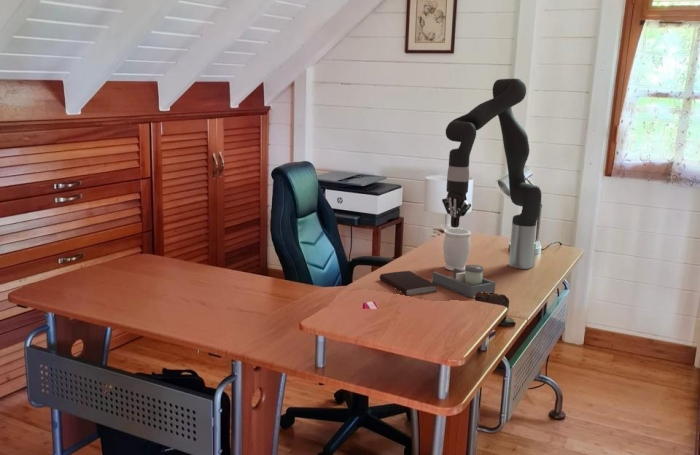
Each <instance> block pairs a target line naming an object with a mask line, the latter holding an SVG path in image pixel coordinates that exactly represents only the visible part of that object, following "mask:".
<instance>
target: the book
mask: <svg viewBox="0 0 700 455" xmlns="http://www.w3.org/2000/svg"><path fill="white" fill-rule="evenodd" d="M379 279H380V281H381V282H382V283H384V282H385V284H386V283H387V284H386V285H388V284H389V285H390V287H391V286H392V287H391V288H393V287H394V288H396V289H397V290H396V289H395V290H396V291H398V290H399V291H401V292H402V293H401V292H400V293H401V294H403V293H404V294H405V295H404V294H403V295H404V296H406V295H407V296H412V294H414V295H422V294H423V293H425V294H431V292H432V293H436V292H437V288H436V287H437V286H438V285H436V284H434V283H432V281H430V280H428V279H426V278H424V277H422V276H420V275H419V274H416V273H414V272H412V271H410V270H403V271H402V270H401V271H394V272H387V273H386V272H385V273H381V274H380V276H379ZM389 285H388V286H389ZM394 288H393V289H394ZM399 291H398V292H399ZM409 294H410V295H409ZM423 295H424V294H423Z"/></svg>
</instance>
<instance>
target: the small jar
mask: <svg viewBox="0 0 700 455" xmlns="http://www.w3.org/2000/svg"><path fill="white" fill-rule="evenodd" d="M464 271H465V283H466V284H468V285H471V286H476V285H481V284H482V278H484V277H483V276H484V266H482V265H479V264H465V270H464Z"/></svg>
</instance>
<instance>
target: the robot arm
mask: <svg viewBox="0 0 700 455" xmlns="http://www.w3.org/2000/svg"><path fill="white" fill-rule="evenodd" d="M526 94H527V86H526V83H525V81H524V80H522V79H520V78H513V77H512V78H500V79H496V80H495V81H494V83H493V85H492V98H490V99H488V100H486V101H484V102H483V101H482V102H481V103H480V104H478V105H476V106H475V107H474V108H473V109H470V111H469V112H467V113H466V114H464V115H460V116H459V117H457V118H454V119H453V120H451V121H450V122H449V123H448V125H447V126H446V129H445V137H446V138H447V139H448V140H449V141H451V142H456V143H459V146H458V148H452V149H451V150H450V151H449V155H448V166H447V167H448V168H447V174H446V175H447V176H446V192H447V195H446V197H445V198H442V199H441V202H442V204H443V206H444V209H445V211H446V213H447V215H450V217H451V218H450V227H451V228H453V229H457V228H458V227H459V226H460V218H461V217H464V216H466V214H467V213H468V211H469V210H470V208H471V206H472V204H471V203H468V201H467V193H469V182H470V179H469V178H470V155H471V152H472V150H473V146H474V143H475V140H476V138H477V131H479V130H481V129H482V128H483V127H484V126H485V125H487V124H488V123H489V122H490V121H492V120H493V119H495V118H496V117H497V116H498V121H499V124H500V125H499V126H500V131H501V135H502V143H503V149H504V154H505V159H506V166H507V175H508V188H509V197H510V200H511V202H512V203H513V204H514V205H515V206H517V207H518V206H519V207H521V213H520V214H516V215H514V216H512V222H511V235H510V246H509V247H510V248H509V255H508V256H509V259H508V266H509V267H511V268H514V269H521V270H525V269H526V270H527V269H531V268H533V267H534V266H535V258H536V248H537V243H536V241H535V240H536V232H537V230H536V228H537V222H538V218H539V216H540V211H541V204H542V190H541V188H540V187H539V186H538V185H534V184H532V183H526V178H525V166H526V164H527V160H528V158H529V156H530V144H529V138H528V134H527V132H526V130H525V128H524V127H523V125H522V124H521V123H520V122H519V120H517V117H516V116H515V115H514V112H513V110H512V107H514V106H516V105H519V103H520V104H521V102H523V100H525V97H526Z"/></svg>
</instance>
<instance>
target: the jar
mask: <svg viewBox="0 0 700 455" xmlns="http://www.w3.org/2000/svg"><path fill="white" fill-rule="evenodd" d="M443 232H444V238H443V246H442V247H443V248H442V250H443V251H442V252H443V259H444V262H445V265H444V268H445V269H446V270H448V271H451V272H454V268H457V269H460V270H462V271H465V266H466V265H467V262H468V260H469V256H470V253H471V251H470V250H471V237H470V236H472V231H470V230H468V229H463V228H447V229H444V231H443Z"/></svg>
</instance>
